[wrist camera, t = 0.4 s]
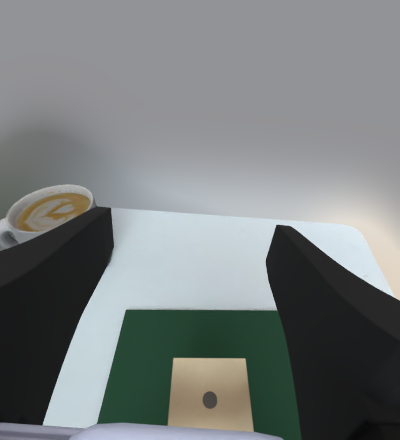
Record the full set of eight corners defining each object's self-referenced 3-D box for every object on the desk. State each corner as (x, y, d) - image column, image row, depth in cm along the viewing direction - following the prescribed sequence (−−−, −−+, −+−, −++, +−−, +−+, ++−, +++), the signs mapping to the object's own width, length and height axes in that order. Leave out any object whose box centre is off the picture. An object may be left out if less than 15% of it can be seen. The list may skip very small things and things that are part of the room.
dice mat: (378, 631, 16) (381, 633, 15) (48, 622, 16) (45, 624, 16) (290, 312, 32) (290, 310, 32) (126, 311, 32) (125, 309, 32)
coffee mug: (120, 238, 42) (105, 186, 36) (95, 291, 34) (69, 236, 28) (43, 233, 43) (14, 181, 37) (1, 282, 36) (-44, 228, 29)
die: (247, 468, 21) (257, 454, 17) (172, 467, 21) (164, 452, 17) (240, 383, 26) (246, 357, 22) (178, 383, 26) (173, 356, 22)
